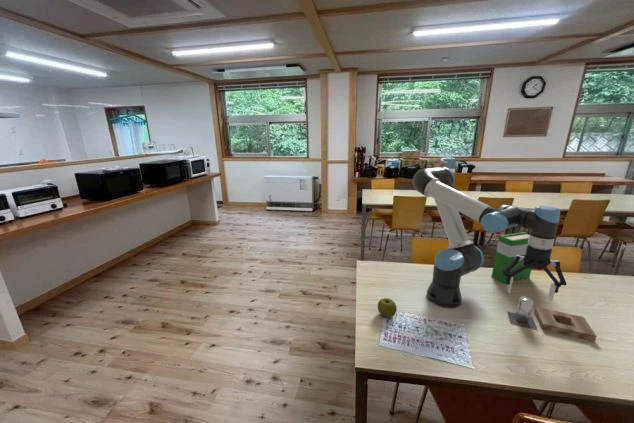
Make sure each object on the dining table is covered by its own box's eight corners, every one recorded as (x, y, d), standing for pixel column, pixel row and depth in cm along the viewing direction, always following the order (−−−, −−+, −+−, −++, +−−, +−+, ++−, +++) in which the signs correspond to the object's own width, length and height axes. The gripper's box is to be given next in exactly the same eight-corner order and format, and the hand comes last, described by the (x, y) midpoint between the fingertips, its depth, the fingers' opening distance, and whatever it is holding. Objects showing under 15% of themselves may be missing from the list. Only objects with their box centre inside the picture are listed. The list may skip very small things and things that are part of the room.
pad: (510, 324, 112) (510, 323, 112) (506, 312, 120) (507, 311, 119) (537, 331, 108) (537, 330, 108) (532, 317, 116) (532, 316, 116)
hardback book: (516, 271, 153) (524, 231, 146) (529, 278, 146) (539, 236, 140) (491, 276, 148) (499, 235, 142) (503, 283, 142) (512, 240, 135)
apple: (379, 308, 123) (380, 294, 121) (397, 312, 120) (398, 298, 118) (375, 318, 117) (376, 303, 115) (394, 323, 114) (395, 308, 112)
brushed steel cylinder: (516, 322, 113) (521, 301, 110) (514, 315, 116) (519, 295, 114) (529, 325, 111) (534, 304, 108) (526, 318, 115) (531, 298, 112)
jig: (541, 329, 109) (543, 323, 108) (533, 312, 119) (535, 306, 118) (594, 342, 102) (596, 336, 101) (581, 322, 112) (583, 316, 111)
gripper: (502, 244, 106) (493, 292, 112) (586, 255, 96) (572, 307, 101) (499, 238, 113) (491, 283, 118) (578, 247, 102) (565, 297, 108)
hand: (528, 295), depth 110 cm, fingers open, 13 cm apart
